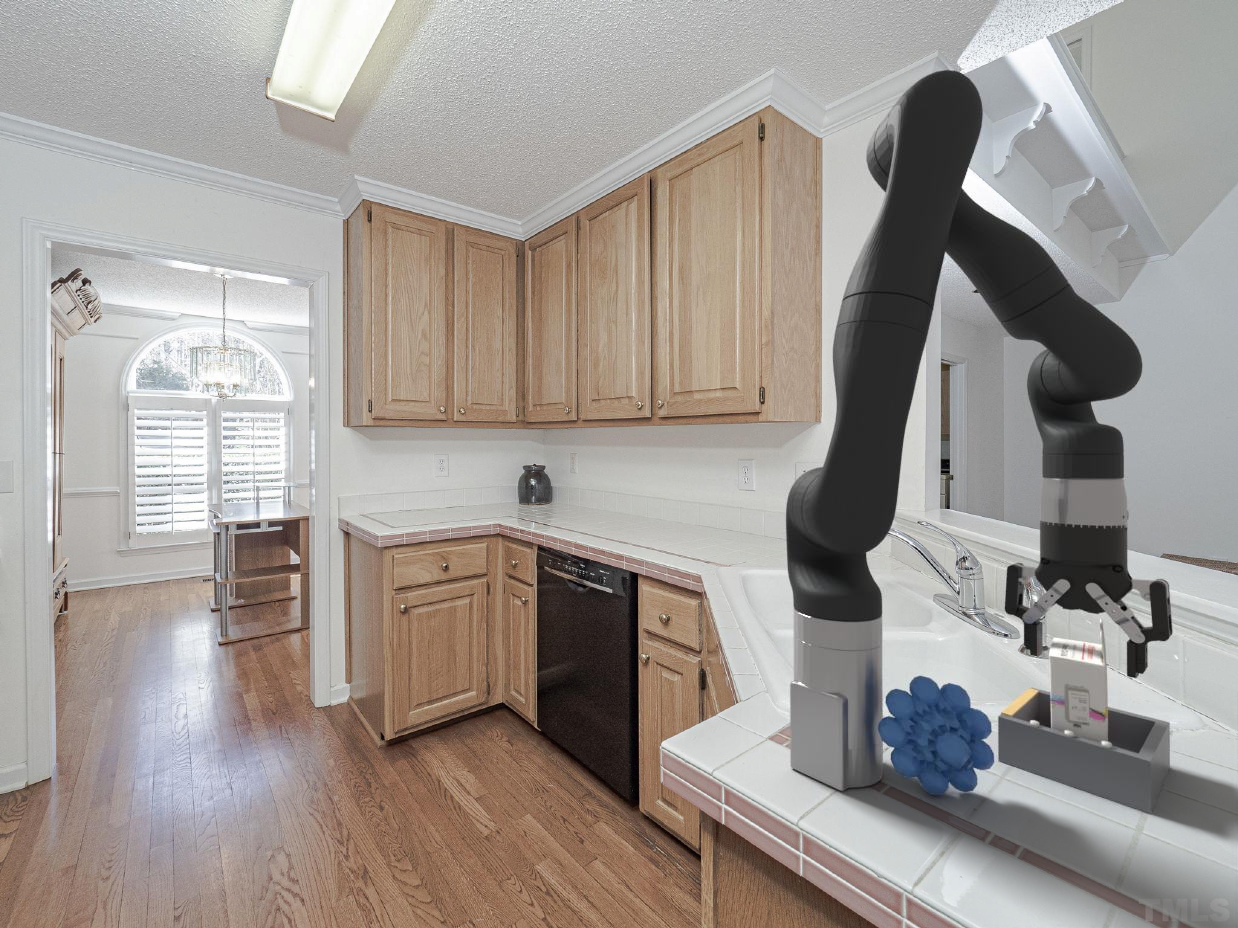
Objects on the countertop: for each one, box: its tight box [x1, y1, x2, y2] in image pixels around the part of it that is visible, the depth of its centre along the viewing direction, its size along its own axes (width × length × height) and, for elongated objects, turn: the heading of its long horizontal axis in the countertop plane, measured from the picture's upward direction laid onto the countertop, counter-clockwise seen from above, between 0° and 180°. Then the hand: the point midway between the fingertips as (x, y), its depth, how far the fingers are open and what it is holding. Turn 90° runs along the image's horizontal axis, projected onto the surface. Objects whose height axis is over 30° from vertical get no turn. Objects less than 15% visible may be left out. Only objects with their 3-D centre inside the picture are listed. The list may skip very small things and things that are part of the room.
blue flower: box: [878, 675, 995, 796], centre depth 56 cm, size 12×7×12 cm, turn 90°
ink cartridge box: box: [1048, 618, 1109, 743], centre depth 63 cm, size 9×5×15 cm, turn 140°
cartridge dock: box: [997, 687, 1171, 815], centre depth 63 cm, size 13×13×5 cm
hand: (1082, 664), depth 63 cm, fingers open, 8 cm apart
